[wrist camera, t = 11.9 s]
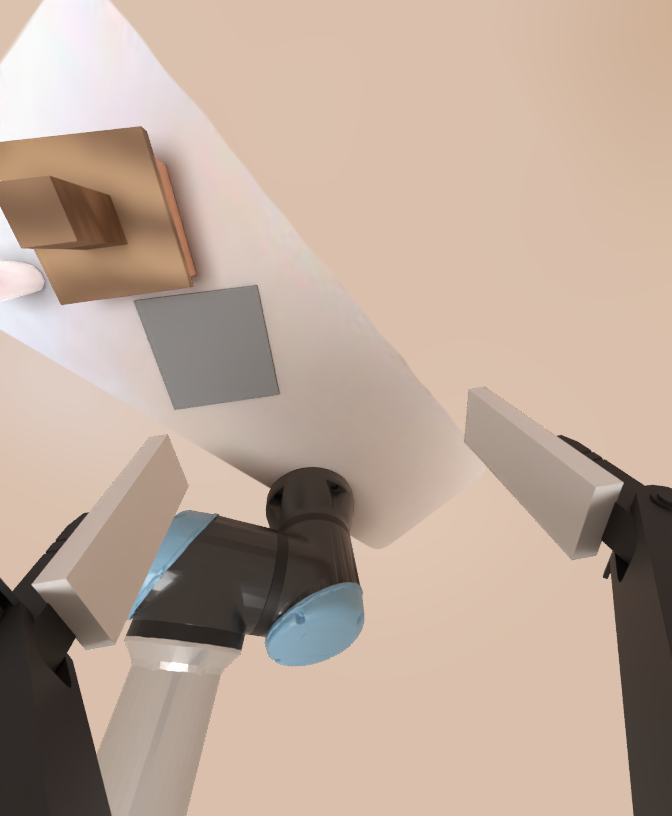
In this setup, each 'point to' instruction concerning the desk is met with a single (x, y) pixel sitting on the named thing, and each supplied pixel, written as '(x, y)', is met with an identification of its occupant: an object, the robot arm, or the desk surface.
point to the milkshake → (19, 280)
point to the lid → (93, 213)
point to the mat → (210, 346)
